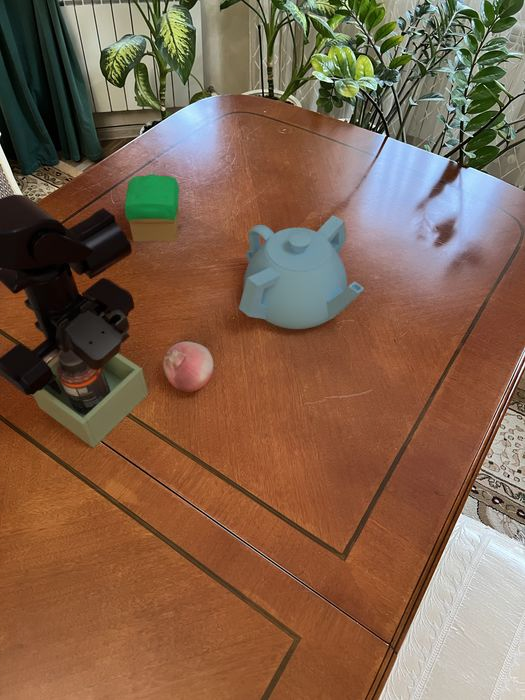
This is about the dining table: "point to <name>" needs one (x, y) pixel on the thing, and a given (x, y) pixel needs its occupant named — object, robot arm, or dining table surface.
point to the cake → (153, 208)
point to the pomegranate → (188, 366)
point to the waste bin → (107, 413)
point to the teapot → (297, 276)
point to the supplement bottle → (81, 382)
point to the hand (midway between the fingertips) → (83, 370)
